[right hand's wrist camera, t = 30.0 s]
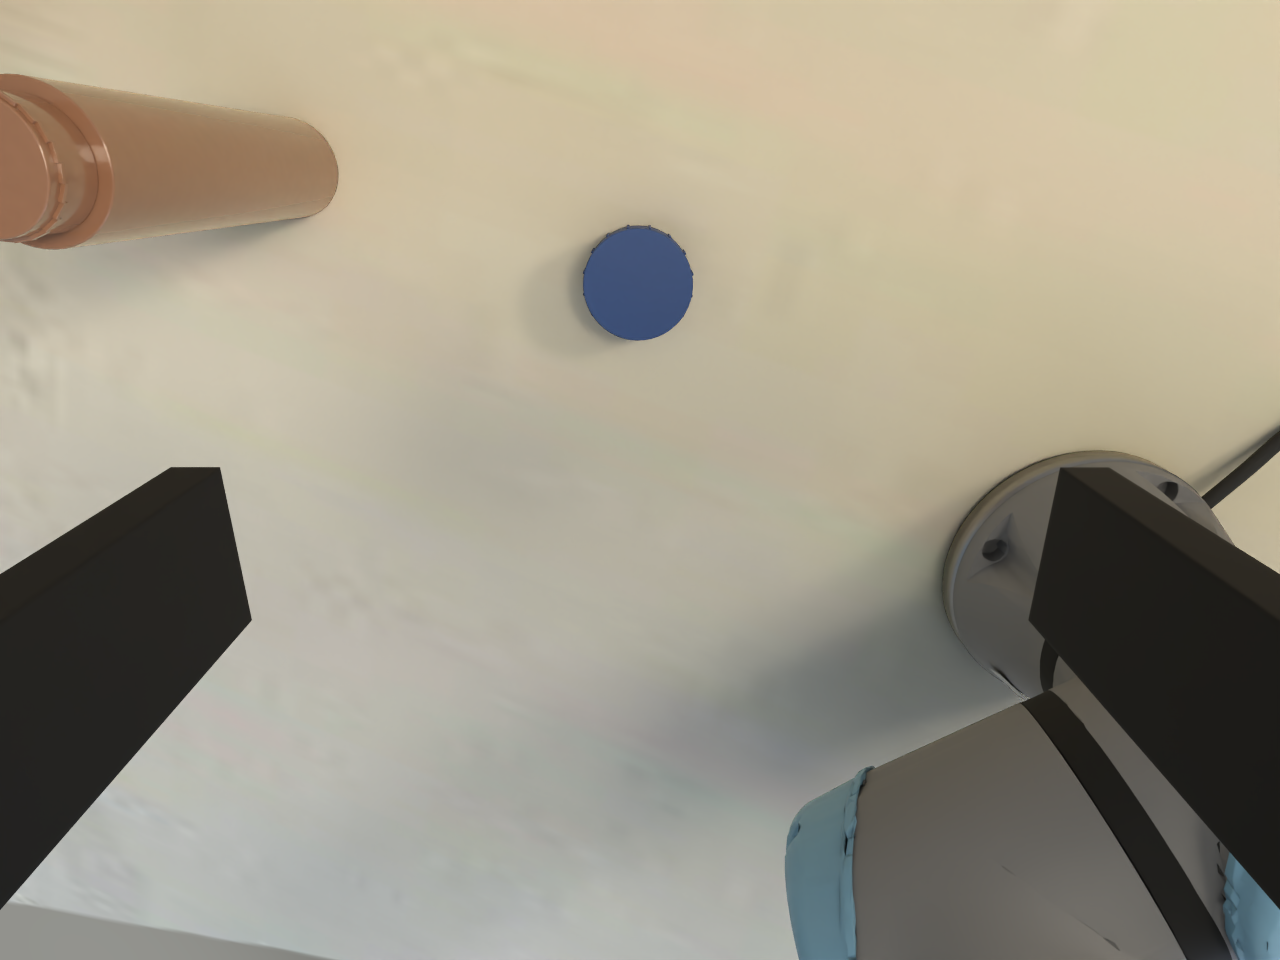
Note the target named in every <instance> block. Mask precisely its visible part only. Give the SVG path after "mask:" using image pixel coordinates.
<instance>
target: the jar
mask: <svg viewBox="0 0 1280 960" xmlns="http://www.w3.org/2000/svg"><path fill="white" fill-rule="evenodd" d="M337 183H338V167H337V163H336V159H335V156H334V153H333V151H332V149H331V147H330V146H329V144H328V142H327V141H326V140H325V138H324V137H323V136H322V135H321V134H320V133H319V132H318V131H317V130H316V129H314V128H313V127H312V126H310V125H309V124H307V123H305V122H303V121H301V120H298V119H295V118H289V117H283V116H277V115H271V114H264V113H258V112H252V111H245V110H239V109H233V108H227V107H220V106H214V105H208V104H201V103H195V102H189V101H182V100H176V99H170V98H164V97H157V96H151V95H145V94H138V93H132V92H126V91H119V90H113V89H107V88H101V87H94V86H88V85H82V84H75V83H69V82H63V81H56V80H50V79H44V78H38V77H31V76H25V75H19V74H0V241H4V242H14V243H23V244H25V245H29V246H32V247H36V248H42V249H53V250H56V249H67V248H74V247H82V246H90V245H97V244H105V243H112V242H120V241H128V240H135V239H143V238H150V237H158V236H166V235H173V234H181V233H188V232H196V231H204V230H211V229H219V228H226V227H234V226H242V225H249V224H257V223H265V222H272V221H280V220H287V219H295V218H303V217H308V216H312V215H314V214H316V213H318V212H320V211H321V210H323V209H324V208H325V207H326V206H327V205H328V204H329V203H330V201H331V199H332V198H333V196H334V194H335V191H336V188H337Z"/></svg>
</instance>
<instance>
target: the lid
mask: <svg viewBox="0 0 1280 960" xmlns="http://www.w3.org/2000/svg"><path fill="white" fill-rule="evenodd" d="M591 253H592V255H591V256H590V258H589V261H588V263H587V266H586V268H585V270H584V271H583V274H584V280H583V289H584V293H583V295H584V296H585V300H586V303H587V306H588V308H589V310H590V312H591V315H592V316H593V317H594V318H595V320H596V321H597V322H598V323H599V324H600V325H601V326H602V327H603V328H604V329H606V330H607V331H609V332H610V333H612V334H614V335H616V336H618V337H621V338H624V339H629V340H647V339H652V338H655V337H658V336H660V335H662V334H664V333H666V332H668V331H669V330H671V329H672V328H673V327H674V326H675V325H676V324H677V323H678V322H679V321H680V320H681V318H682V317H683V316H684V314H685V312H686V310H687V308H688V306H689V303H690V301H691V297H692V290H693V278H692V276H693V272H692V270H691V269H690V265H689V263H688V260H687V258H686V256H685V255H686V253H685V251H684V250H681V248H680V247H679V245H678V244H677V243H676V242H675V241H674V240H673V239H672V238H671V236H670V234H668V235H667V234H665V233H664V232H662V231H660V230H657V229H655V228H652V227H651V226H650V225H649V226H648V227H647V226H629V225H627V227H624V228H621V229H618V230H616V231H614V232H612V233H611V234H610V233H608V234H607V236H606V237H605V238H604V239H603V240H602V241H601V242H600V243H599V244H598V246H597V247H596V248H593V250H592V252H591Z"/></svg>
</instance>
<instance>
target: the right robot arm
mask: <svg viewBox="0 0 1280 960" xmlns="http://www.w3.org/2000/svg"><path fill="white" fill-rule="evenodd" d="M1279 451H1280V431H1279V432H1278V433H1277V434H1275V435H1274V436H1273V437H1272V438H1270V439H1269V440H1268V441H1267V442H1266V443H1265V444H1264V445H1262V446H1261V447H1260V448H1259V449H1258V450H1257V451H1256V452H1255V453H1254V454H1252V455H1251V456H1250V457H1249V458H1248V459H1247V460H1246V461H1244V462H1243V463H1242V464H1241V465H1240V466H1239V467H1237V468H1236V469H1235V470H1234V471H1233V472H1231V473H1230V474H1229V475H1228V476H1227V477H1225V478H1224V479H1223V480H1222V481H1220V482H1219V483H1218V484H1217V485H1216V486H1214V487H1213V488H1212V489H1211V490H1209V491H1208V492H1207V493H1206V494H1205V495H1203V496H1202V497H1200V495H1199V494H1198V493H1197V492H1196V491H1195V490H1194V489H1193V488H1192V487H1191V486H1190V485H1188V484H1187V483H1186V482H1185V481H1183V480H1182V479H1180V478H1179V477H1177V476H1176V475H1174V474H1172V473H1170V472H1168V471H1167V470H1165V469H1163V468H1161V467H1160V466H1158V465H1156V464H1154V463H1152V462H1150V461H1148V460H1145V459H1143V458H1140V457H1137V456H1133V455H1130V454H1126V453H1120V452H1113V451H1084V452H1075V453H1070V454H1065V455H1060V456H1057V457H1054V458H1050V459H1047V460H1044V461H1042V462H1039V463H1037V464H1034V465H1032V466H1030V467H1028V468H1026V469H1024V470H1022V471H1020V472H1018V473H1017V474H1015V475H1013V476H1012V477H1010V478H1008V479H1007V480H1005V481H1004V482H1003V483H1001V484H1000V485H998V486H997V487H996V488H995V489H994V490H992V491H991V492H990V493H989V494H988V495H987V496H986V497H985V498H984V499H983V500H982V501H981V502H980V503H978V505H977V506H976V507H975V508H974V509H973V510H972V512H971V513H970V514H969V515H968V517H967V518H966V520H965V521H964V522H963V524H962V525H961V527H960V529H959V530H958V532H957V534H956V536H955V538H954V540H953V542H952V544H951V546H950V549H949V552H948V555H947V558H946V562H945V567H944V572H943V584H942V592H943V602H944V606H945V610H946V614H947V617H948V619H949V622H950V624H951V626H952V628H953V630H954V632H955V633H956V635H957V636H958V638H959V639H960V641H961V642H962V644H963V645H964V646H965V648H966V649H967V651H968V652H969V654H970V655H971V656H972V657H973V658H974V659H975V661H976V662H977V663H979V664H980V665H981V666H982V667H983V668H984V669H985V670H987V671H988V672H989V673H991V674H992V675H993V676H995V677H996V678H997V679H999V680H1001V681H1002V682H1004V683H1005V684H1006V685H1007V686H1008V687H1010V688H1011V689H1012V690H1013V691H1014V692H1015V693H1016V694H1017V695H1018V696H1020V697H1021V698H1023V699H1025V698H1024V697H1023V696H1022V695H1021V694H1020V693H1019V692H1021V693H1023V694H1024V695H1026V696H1028V697H1029V698H1030V699H1028V700H1027V699H1025V700H1026V701H1024V702H1020V703H1018V704H1016V705H1013V706H1011V707H1009V708H1007V709H1005V710H1002V711H1000V712H998V713H996V714H994V715H992V716H989V717H987V718H985V719H983V720H981V721H978V722H976V723H974V724H972V725H970V726H967V727H965V728H963V729H961V730H959V731H956V732H954V733H952V734H950V735H948V736H945V737H943V738H941V739H939V740H937V741H934V742H932V743H930V744H928V745H926V746H923V747H921V748H919V749H917V750H915V751H913V752H910V753H908V754H906V755H904V756H902V757H899V758H897V759H895V760H893V761H891V762H888V763H886V764H884V765H882V766H879V767H877V768H875V767H874V766H870V767H866V768H864V769H862V770H861V771H859V772H858V774H857V775H856V777H855V778H853V779H852V780H850V781H848V782H846V783H844V784H842V785H840V786H838V787H837V788H835V789H833V790H831V791H829V792H827V793H825V794H823V795H822V796H820V797H818V798H816V799H814V800H812V801H810V802H809V803H807V804H806V805H805V806H804V807H803V808H802V809H801V810H800V811H799V812H798V814H797V815H796V817H795V818H794V820H793V822H792V824H791V827H790V830H789V834H788V837H787V846H786V855H785V880H786V892H787V900H788V907H789V913H790V920H791V925H792V930H793V935H794V940H795V944H796V949H797V953H798V957H799V960H1280V574H1278V573H1277V572H1275V571H1274V570H1272V569H1270V568H1269V567H1267V566H1266V565H1264V564H1263V563H1261V562H1259V561H1258V560H1256V559H1255V558H1253V557H1251V556H1250V555H1248V554H1247V553H1245V552H1243V551H1242V550H1240V549H1239V548H1237V547H1235V545H1234V544H1233V542H1232V541H1231V539H1230V538H1229V536H1228V535H1227V533H1226V531H1225V530H1224V528H1223V527H1222V525H1221V524H1220V522H1219V521H1218V519H1217V518H1216V516H1215V515H1214V513H1213V512H1212V510H1211V508H1213V507H1214V506H1215V505H1216V504H1218V503H1219V502H1220V501H1221V500H1223V499H1224V498H1225V497H1226V496H1227V495H1229V494H1230V493H1231V492H1232V491H1234V490H1235V489H1236V488H1237V487H1238V486H1240V485H1241V484H1242V483H1243V482H1244V481H1246V480H1247V479H1248V478H1249V477H1250V476H1252V475H1253V474H1254V473H1255V472H1256V471H1258V470H1259V469H1260V468H1261V467H1262V466H1263V465H1264V464H1265V463H1267V462H1268V461H1269V460H1270V459H1271V458H1272V457H1273V456H1274V455H1276V454H1277V453H1278V452H1279ZM251 620H252V619H251V614H250V609H249V604H248V599H247V595H246V590H245V585H244V580H243V576H242V571H241V566H240V561H239V556H238V552H237V547H236V542H235V537H234V532H233V528H232V523H231V518H230V513H229V509H228V504H227V499H226V494H225V489H224V485H223V480H222V475H221V470H220V467H171V468H169V469H167V470H166V471H164V472H163V473H161V474H159V475H158V476H156V477H155V478H153V479H151V480H150V481H148V482H147V483H145V484H143V485H142V486H140V487H139V488H137V489H135V490H134V491H132V492H131V493H129V494H128V495H126V496H124V497H123V498H121V499H120V500H118V501H116V502H115V503H113V504H112V505H110V506H108V507H107V508H105V509H104V510H102V511H100V512H99V513H97V514H96V515H94V516H92V517H91V518H89V519H88V520H86V521H84V522H83V523H81V524H80V525H78V526H76V527H75V528H73V529H72V530H70V531H69V532H67V533H65V534H64V535H62V536H61V537H59V538H57V539H56V540H54V541H53V542H51V543H49V544H48V545H46V546H45V547H43V548H41V549H40V550H38V551H37V552H35V553H33V554H32V555H30V556H29V557H27V558H25V559H24V560H22V561H21V562H19V563H17V564H16V565H14V566H13V567H11V568H10V569H8V570H6V571H5V572H3V573H2V574H0V909H1V908H2V907H3V906H4V905H5V904H6V903H7V901H8V900H9V899H10V898H11V897H12V896H13V895H14V893H15V892H16V891H17V890H18V889H19V888H20V886H21V885H22V884H23V883H24V882H25V881H26V880H27V878H28V877H29V876H30V875H31V874H32V873H33V871H34V870H35V869H36V868H37V867H38V866H39V865H40V863H41V862H42V861H43V860H44V859H45V858H46V857H47V855H48V854H49V853H50V852H51V851H52V850H53V848H54V847H55V846H56V845H57V844H58V843H59V842H60V840H61V839H62V838H63V837H64V836H65V835H66V833H67V832H68V831H69V830H70V829H71V828H72V827H73V825H74V824H75V823H76V822H77V821H78V820H79V819H80V817H81V816H82V815H83V814H84V813H85V812H86V810H87V809H88V808H89V807H90V806H91V805H92V804H93V802H94V801H95V800H96V799H97V798H98V797H99V796H100V794H101V793H102V792H103V791H104V790H105V789H106V787H107V786H108V785H109V784H110V783H111V782H112V781H113V779H114V778H115V777H116V776H117V775H118V774H119V772H120V771H121V770H122V769H123V768H124V767H125V766H126V764H127V763H128V762H129V761H130V760H131V759H132V758H133V756H134V755H135V754H136V753H137V752H138V751H139V749H140V748H141V747H142V746H143V745H144V744H145V743H146V741H147V740H148V739H149V738H150V737H151V736H152V734H153V733H154V732H155V731H156V730H157V729H158V728H159V726H160V725H161V724H162V723H163V722H164V721H165V720H166V718H167V717H168V716H169V715H170V714H171V713H172V711H173V710H174V709H175V708H176V707H177V706H178V705H179V703H180V702H181V701H182V700H183V699H184V698H185V696H186V695H187V694H188V693H189V692H190V691H191V690H192V688H193V687H194V686H195V685H196V684H197V683H198V682H199V680H200V679H201V678H202V677H203V676H204V675H205V673H206V672H207V671H208V670H209V669H210V668H211V667H212V665H213V664H214V663H215V662H216V661H217V660H218V658H219V657H220V656H221V655H222V654H223V653H224V652H225V650H226V649H227V648H228V647H229V646H230V645H231V644H232V642H233V641H234V640H235V639H236V638H237V637H238V635H239V634H240V633H241V632H242V631H243V630H244V629H245V627H246V626H247V625H248V624H249V623H250V622H251ZM1017 690H1018V691H1019V692H1018V691H1017Z"/></svg>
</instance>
